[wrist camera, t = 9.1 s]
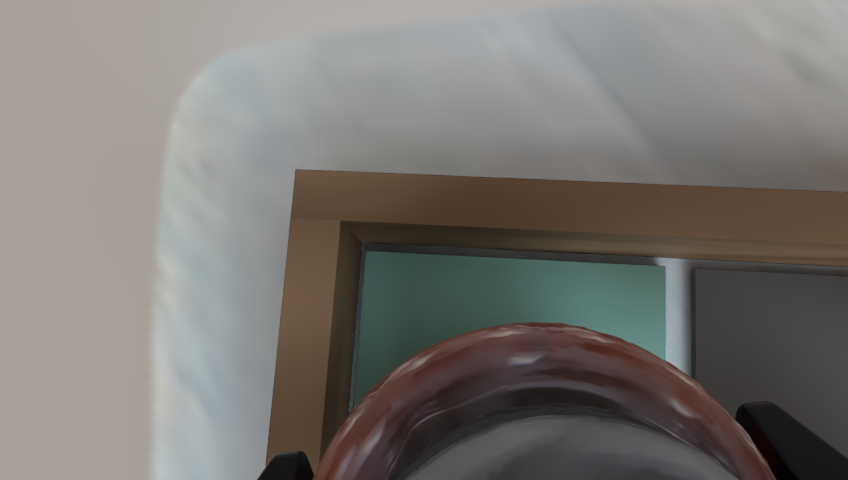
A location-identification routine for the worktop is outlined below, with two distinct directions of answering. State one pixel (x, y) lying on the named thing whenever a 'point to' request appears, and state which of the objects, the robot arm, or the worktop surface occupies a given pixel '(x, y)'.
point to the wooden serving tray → (557, 285)
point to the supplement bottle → (540, 415)
